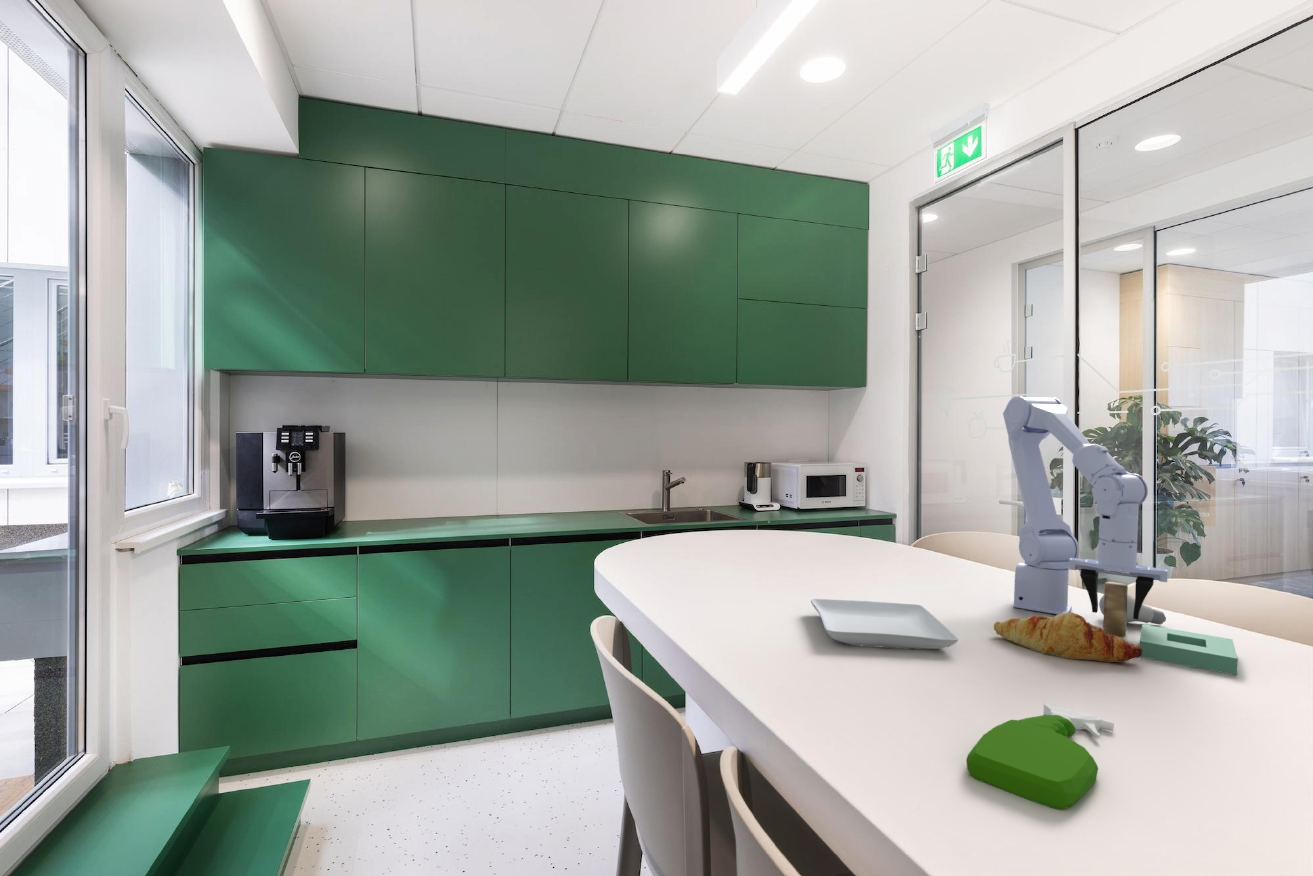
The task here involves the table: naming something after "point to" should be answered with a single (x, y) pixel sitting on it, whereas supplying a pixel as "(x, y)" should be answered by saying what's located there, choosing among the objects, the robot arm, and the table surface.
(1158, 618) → the lightbulb
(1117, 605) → the dowel
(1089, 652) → the croissant
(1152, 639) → the socket block
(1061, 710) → the spray bottle
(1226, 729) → the table surface
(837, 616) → the salad plate
